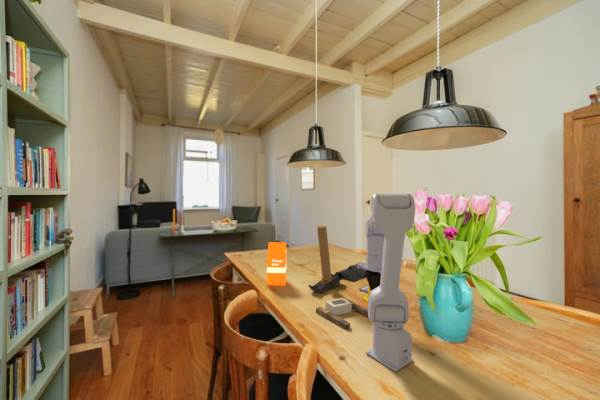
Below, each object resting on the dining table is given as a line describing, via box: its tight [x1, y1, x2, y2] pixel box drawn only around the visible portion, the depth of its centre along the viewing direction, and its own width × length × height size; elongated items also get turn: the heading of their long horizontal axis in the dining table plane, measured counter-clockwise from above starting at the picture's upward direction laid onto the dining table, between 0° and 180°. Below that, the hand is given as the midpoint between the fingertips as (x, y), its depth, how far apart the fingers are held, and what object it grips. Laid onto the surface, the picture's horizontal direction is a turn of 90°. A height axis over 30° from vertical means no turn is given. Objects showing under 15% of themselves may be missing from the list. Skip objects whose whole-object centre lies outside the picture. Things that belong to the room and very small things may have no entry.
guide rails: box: [315, 299, 369, 330], centre depth 94 cm, size 15×15×2 cm
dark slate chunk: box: [338, 263, 367, 283], centre depth 142 cm, size 15×22×5 cm
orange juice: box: [266, 241, 287, 286], centre depth 127 cm, size 8×9×20 cm
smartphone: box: [358, 285, 369, 294], centre depth 116 cm, size 1×7×15 cm
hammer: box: [307, 225, 344, 294], centre depth 119 cm, size 20×5×30 cm, turn 137°
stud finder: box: [324, 297, 353, 316], centre depth 97 cm, size 6×8×4 cm
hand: (374, 292), depth 90 cm, fingers closed
